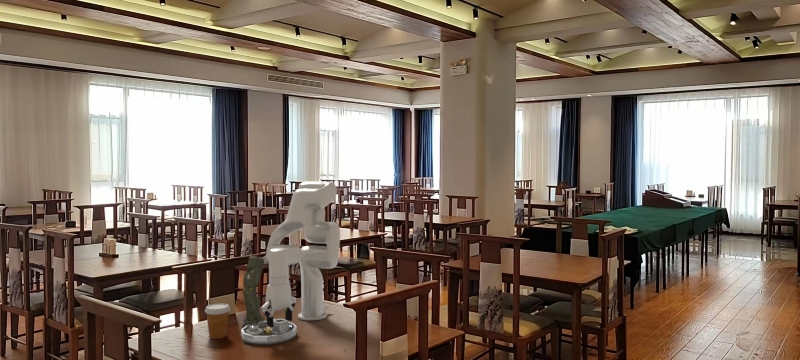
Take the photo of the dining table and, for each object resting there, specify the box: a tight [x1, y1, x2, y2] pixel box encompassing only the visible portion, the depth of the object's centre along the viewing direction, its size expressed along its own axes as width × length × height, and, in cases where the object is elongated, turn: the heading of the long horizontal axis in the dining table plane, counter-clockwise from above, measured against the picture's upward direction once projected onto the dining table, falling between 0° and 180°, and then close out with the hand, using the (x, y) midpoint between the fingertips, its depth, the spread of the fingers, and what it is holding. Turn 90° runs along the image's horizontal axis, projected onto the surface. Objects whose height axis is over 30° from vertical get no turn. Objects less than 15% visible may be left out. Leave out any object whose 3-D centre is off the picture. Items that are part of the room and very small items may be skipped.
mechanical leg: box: [241, 255, 265, 329], centre depth 249 cm, size 14×7×30 cm, turn 168°
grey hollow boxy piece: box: [272, 318, 289, 335], centre depth 229 cm, size 6×6×6 cm
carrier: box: [240, 318, 298, 346], centre depth 232 cm, size 21×21×5 cm
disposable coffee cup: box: [204, 303, 231, 339], centre depth 233 cm, size 10×10×12 cm
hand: (279, 323), depth 229 cm, fingers open, 9 cm apart
